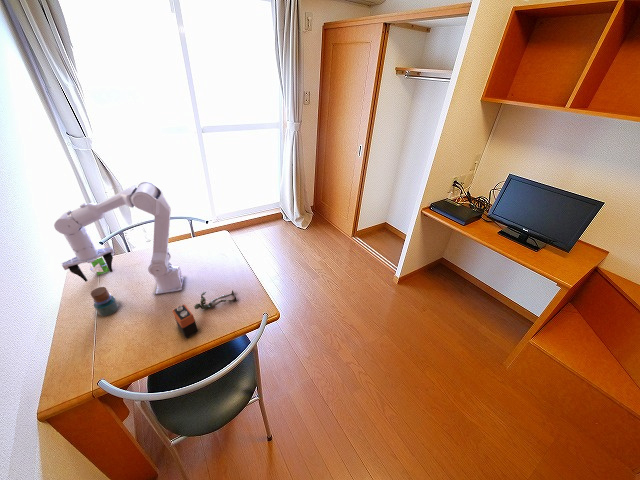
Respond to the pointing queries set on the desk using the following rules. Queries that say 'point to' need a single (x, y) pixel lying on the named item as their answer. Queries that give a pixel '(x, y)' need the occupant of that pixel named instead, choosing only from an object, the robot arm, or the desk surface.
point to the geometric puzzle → (99, 266)
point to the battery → (185, 320)
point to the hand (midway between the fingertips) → (98, 275)
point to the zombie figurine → (212, 303)
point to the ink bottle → (106, 306)
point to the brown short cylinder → (100, 294)
